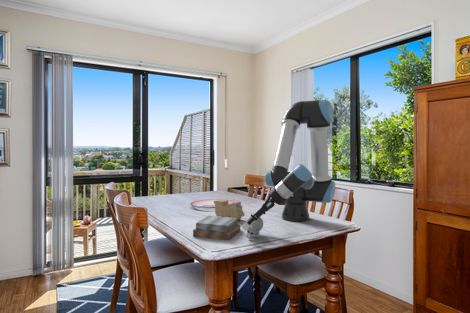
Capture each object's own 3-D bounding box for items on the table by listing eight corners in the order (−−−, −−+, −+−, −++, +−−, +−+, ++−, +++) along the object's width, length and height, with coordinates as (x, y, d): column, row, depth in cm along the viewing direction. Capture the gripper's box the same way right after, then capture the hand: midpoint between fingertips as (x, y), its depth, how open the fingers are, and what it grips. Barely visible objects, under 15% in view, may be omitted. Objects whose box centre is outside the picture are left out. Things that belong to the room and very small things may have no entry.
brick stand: (240, 230, 151) (240, 217, 151) (228, 240, 135) (229, 226, 135) (207, 227, 156) (207, 215, 156) (193, 236, 140) (193, 223, 140)
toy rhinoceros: (238, 240, 138) (242, 226, 133) (249, 223, 147) (252, 209, 143) (253, 246, 136) (257, 233, 131) (263, 229, 145) (266, 216, 141)
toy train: (239, 222, 167) (239, 203, 166) (213, 218, 176) (213, 200, 176) (244, 220, 171) (244, 202, 171) (219, 216, 181) (219, 198, 180)
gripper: (282, 204, 124) (245, 238, 129) (290, 195, 148) (259, 224, 153) (269, 190, 126) (233, 224, 131) (279, 183, 149) (249, 212, 154)
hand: (247, 224), depth 142 cm, fingers open, 13 cm apart
